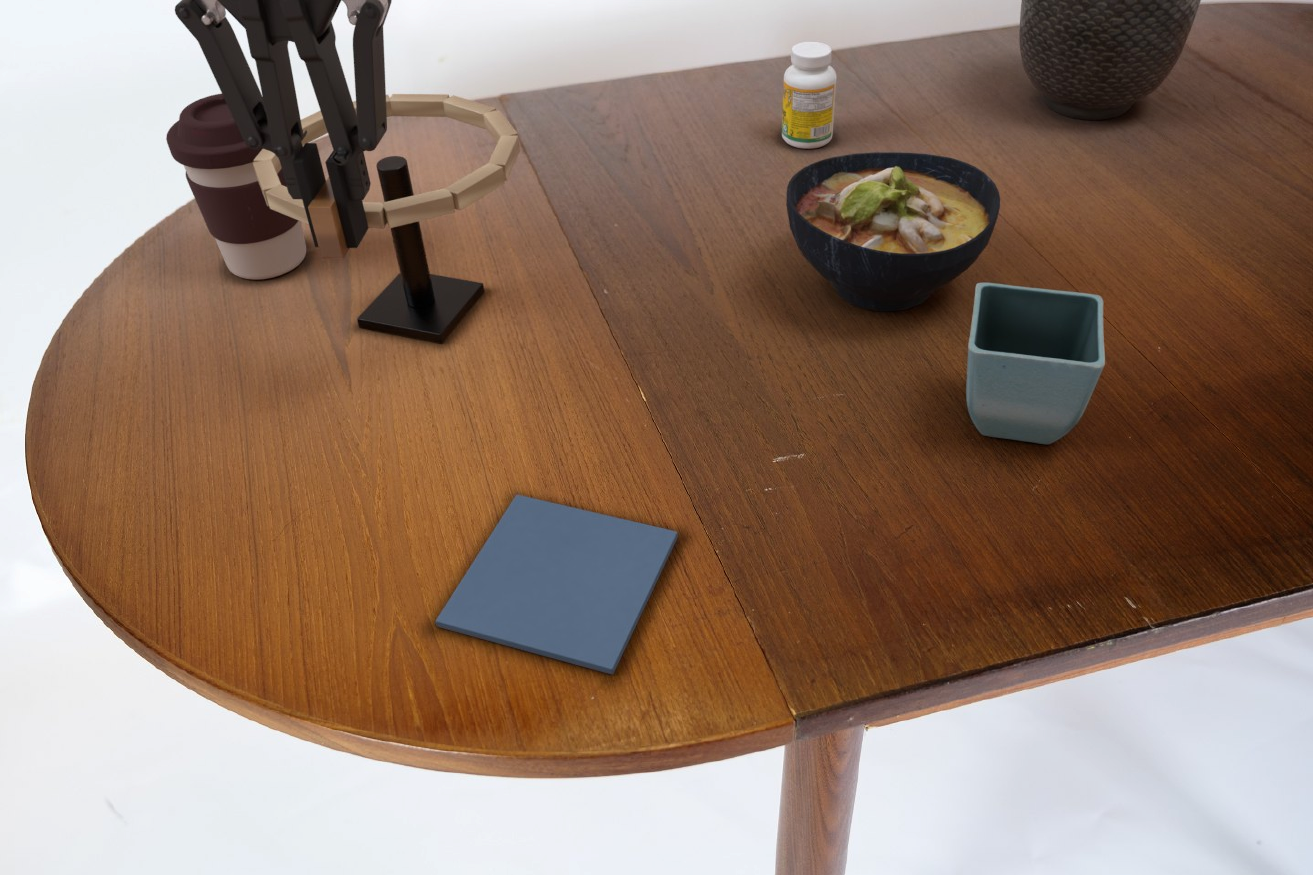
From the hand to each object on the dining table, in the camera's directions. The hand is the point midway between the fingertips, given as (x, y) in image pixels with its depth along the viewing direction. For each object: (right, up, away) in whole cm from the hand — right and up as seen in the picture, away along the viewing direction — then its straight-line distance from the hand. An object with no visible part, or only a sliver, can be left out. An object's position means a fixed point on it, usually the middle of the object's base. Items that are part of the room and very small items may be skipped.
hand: (342, 237), depth 80 cm
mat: (+16, -24, -6) cm, 29 cm away
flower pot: (+49, -13, +5) cm, 51 cm away
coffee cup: (-14, +2, +26) cm, 29 cm away
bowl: (+42, -1, +19) cm, 46 cm away
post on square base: (+2, -3, +19) cm, 19 cm away
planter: (+69, +22, +43) cm, 84 cm away
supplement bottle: (+38, +17, +40) cm, 58 cm away
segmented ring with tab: (+1, +6, +8) cm, 10 cm away
